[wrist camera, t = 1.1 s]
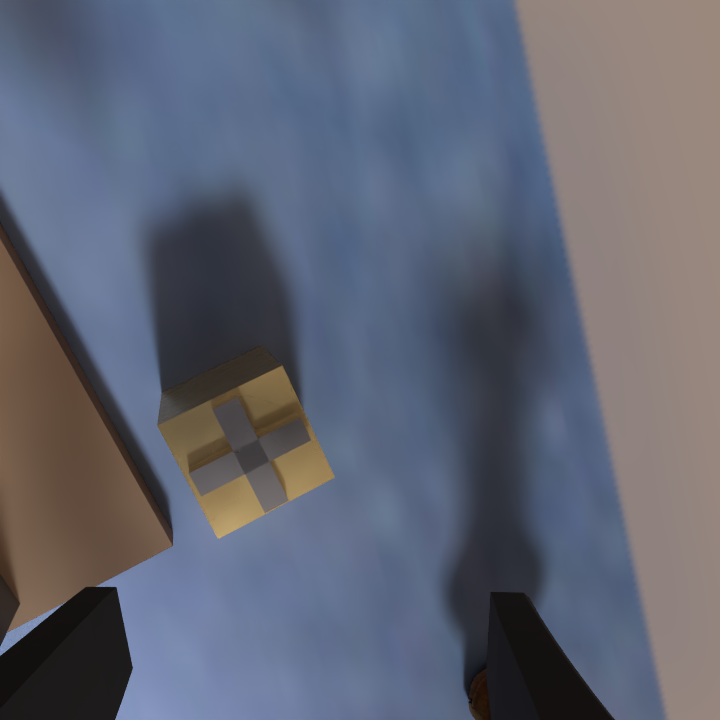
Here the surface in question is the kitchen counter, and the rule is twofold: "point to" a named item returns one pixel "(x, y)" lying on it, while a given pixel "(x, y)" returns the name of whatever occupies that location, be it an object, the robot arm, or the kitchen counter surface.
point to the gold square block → (242, 440)
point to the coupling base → (59, 466)
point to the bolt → (479, 697)
